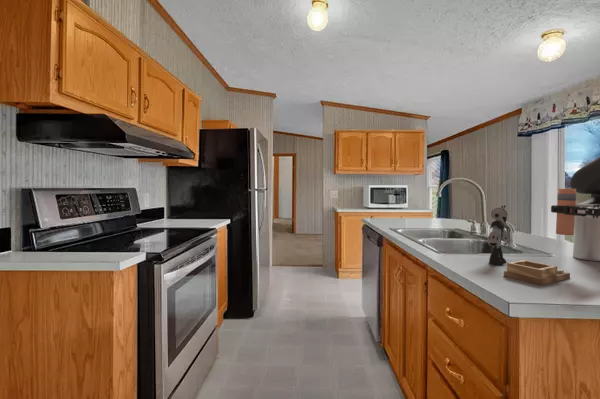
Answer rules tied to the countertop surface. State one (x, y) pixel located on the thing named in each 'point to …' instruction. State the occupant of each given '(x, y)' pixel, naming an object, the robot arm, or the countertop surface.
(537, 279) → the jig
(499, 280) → the countertop surface
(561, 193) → the banded orange cylinder
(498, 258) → the robot
